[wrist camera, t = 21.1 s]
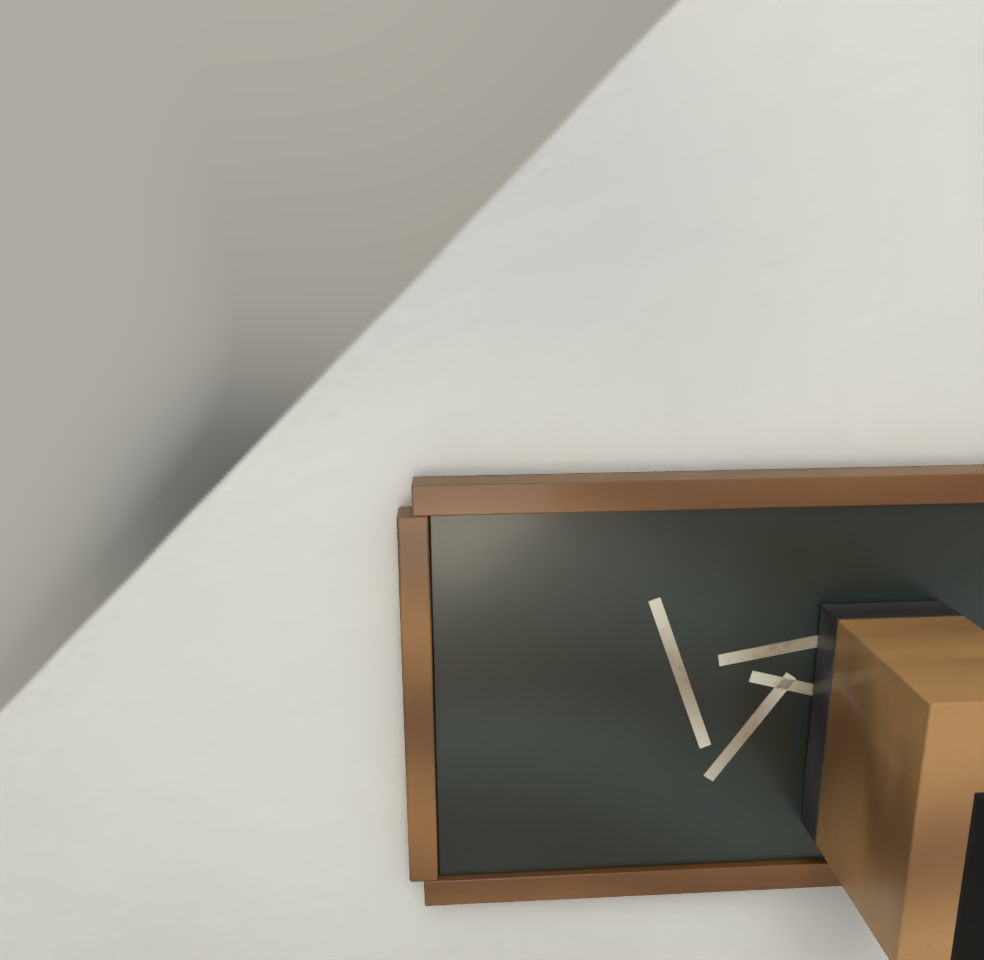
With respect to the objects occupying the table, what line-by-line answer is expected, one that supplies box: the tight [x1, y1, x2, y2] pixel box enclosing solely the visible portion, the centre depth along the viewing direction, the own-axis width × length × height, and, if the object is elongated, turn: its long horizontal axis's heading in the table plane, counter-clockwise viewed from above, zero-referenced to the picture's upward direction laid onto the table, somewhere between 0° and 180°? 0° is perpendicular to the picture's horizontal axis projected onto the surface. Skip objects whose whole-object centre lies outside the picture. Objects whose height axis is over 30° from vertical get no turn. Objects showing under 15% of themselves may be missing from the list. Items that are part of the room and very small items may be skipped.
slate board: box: [397, 465, 984, 906], centre depth 35 cm, size 18×28×2 cm, turn 91°
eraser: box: [801, 601, 984, 960], centre depth 32 cm, size 10×5×8 cm, turn 1°
